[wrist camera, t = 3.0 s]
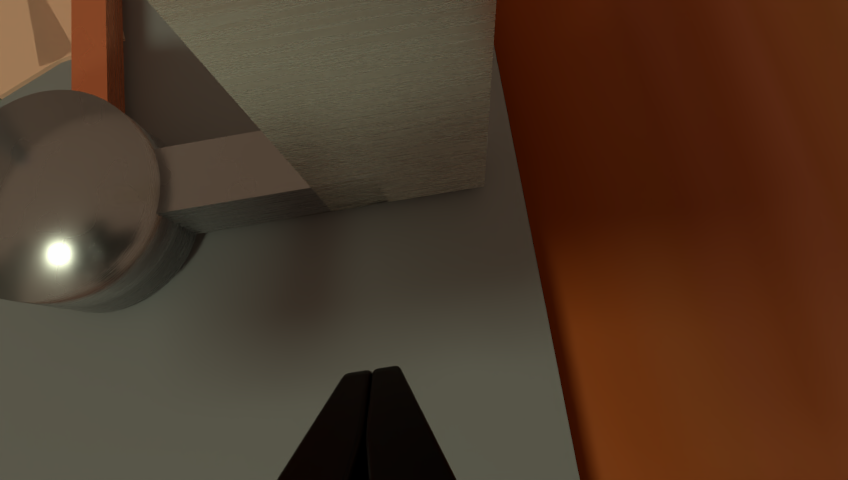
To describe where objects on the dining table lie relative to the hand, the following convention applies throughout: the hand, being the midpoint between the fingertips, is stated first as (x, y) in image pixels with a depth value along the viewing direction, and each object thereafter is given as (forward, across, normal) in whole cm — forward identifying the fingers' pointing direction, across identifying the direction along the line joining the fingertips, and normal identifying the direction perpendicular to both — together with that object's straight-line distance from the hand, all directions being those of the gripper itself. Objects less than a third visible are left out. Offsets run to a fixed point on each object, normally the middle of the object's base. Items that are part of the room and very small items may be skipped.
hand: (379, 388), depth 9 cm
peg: (+10, +4, -2) cm, 11 cm away
